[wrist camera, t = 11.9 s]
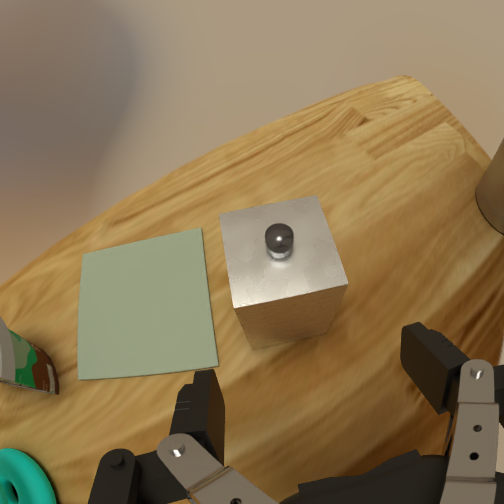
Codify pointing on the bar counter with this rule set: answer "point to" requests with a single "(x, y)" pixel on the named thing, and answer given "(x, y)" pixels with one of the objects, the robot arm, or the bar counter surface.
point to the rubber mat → (145, 309)
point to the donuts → (23, 480)
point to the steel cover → (282, 270)
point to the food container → (25, 363)
